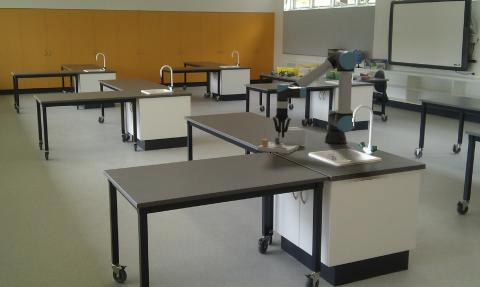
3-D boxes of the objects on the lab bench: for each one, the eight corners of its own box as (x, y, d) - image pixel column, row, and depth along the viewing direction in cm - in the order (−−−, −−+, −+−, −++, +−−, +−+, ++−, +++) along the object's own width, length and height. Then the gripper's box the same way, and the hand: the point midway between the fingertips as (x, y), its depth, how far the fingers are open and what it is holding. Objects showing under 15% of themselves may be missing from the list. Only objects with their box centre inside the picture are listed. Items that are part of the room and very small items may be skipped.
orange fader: (268, 145, 351) (268, 139, 350) (266, 146, 348) (266, 140, 347) (264, 144, 352) (264, 139, 351) (262, 145, 350) (262, 139, 349)
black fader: (281, 143, 358) (281, 137, 357) (279, 143, 356) (279, 138, 355) (277, 142, 360) (277, 136, 359) (275, 143, 357) (275, 137, 356)
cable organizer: (284, 147, 361) (284, 130, 358) (279, 143, 371) (279, 127, 368) (304, 146, 364) (305, 129, 362) (299, 142, 374) (300, 126, 372)
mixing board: (298, 149, 355) (298, 145, 354) (288, 154, 340) (288, 150, 339) (268, 145, 365) (268, 141, 364) (257, 150, 350) (257, 146, 350)
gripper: (270, 107, 351) (269, 142, 356) (289, 108, 345) (287, 144, 350) (275, 105, 358) (274, 140, 363) (293, 107, 352) (292, 142, 357)
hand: (281, 142), depth 356 cm, fingers closed
